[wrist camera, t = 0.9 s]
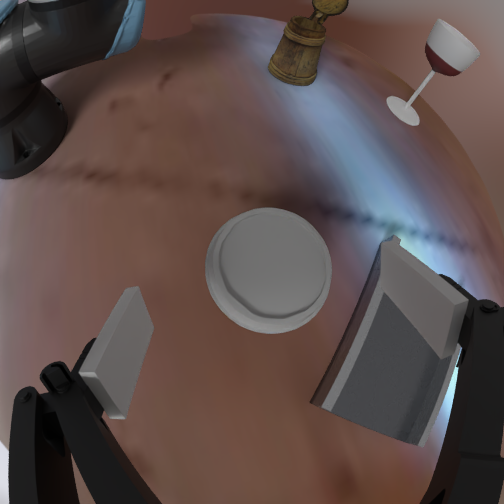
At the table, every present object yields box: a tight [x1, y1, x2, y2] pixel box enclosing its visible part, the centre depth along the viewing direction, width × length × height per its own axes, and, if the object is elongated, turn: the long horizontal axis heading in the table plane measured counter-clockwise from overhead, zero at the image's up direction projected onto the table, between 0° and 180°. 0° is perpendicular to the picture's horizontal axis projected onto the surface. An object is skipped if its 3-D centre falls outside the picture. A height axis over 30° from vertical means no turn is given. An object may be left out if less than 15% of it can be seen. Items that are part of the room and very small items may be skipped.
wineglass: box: [387, 19, 480, 126], centre depth 39 cm, size 9×10×22 cm
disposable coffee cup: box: [205, 208, 332, 334], centre depth 26 cm, size 10×10×12 cm
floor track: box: [310, 235, 461, 447], centre depth 31 cm, size 22×16×3 cm
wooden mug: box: [268, 0, 348, 86], centre depth 39 cm, size 9×14×18 cm, turn 145°
